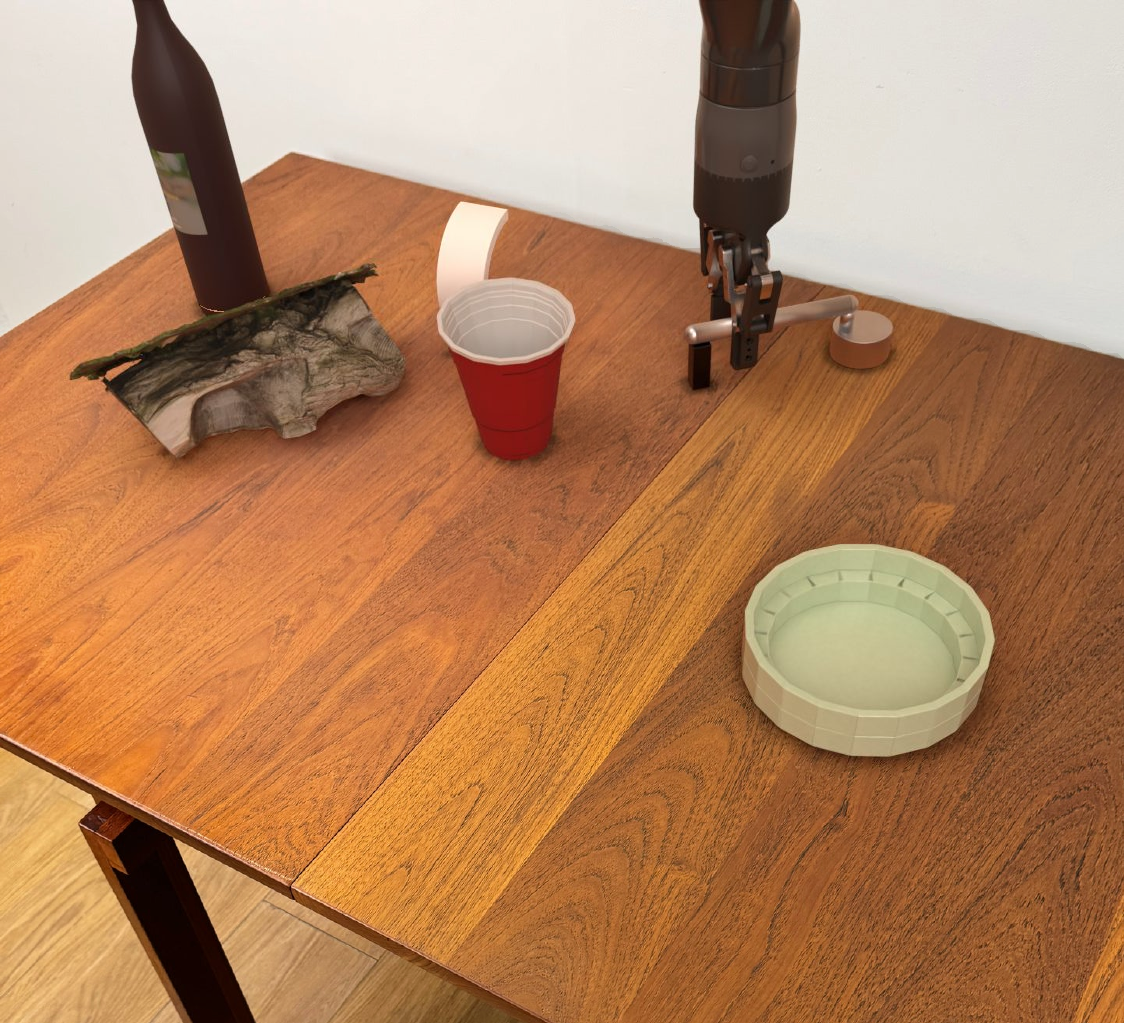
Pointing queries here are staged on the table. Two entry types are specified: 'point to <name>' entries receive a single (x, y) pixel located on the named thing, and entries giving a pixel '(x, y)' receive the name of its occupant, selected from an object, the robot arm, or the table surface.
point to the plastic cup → (509, 359)
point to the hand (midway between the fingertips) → (732, 348)
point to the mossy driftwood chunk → (257, 365)
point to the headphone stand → (467, 247)
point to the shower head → (853, 333)
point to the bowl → (865, 649)
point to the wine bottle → (194, 163)
